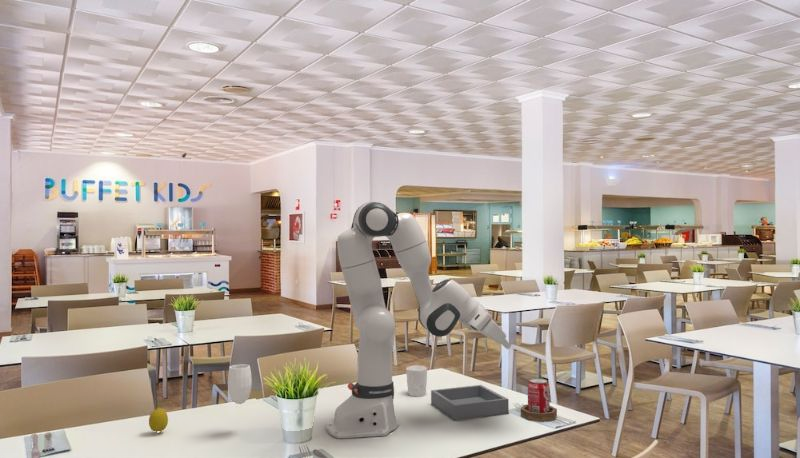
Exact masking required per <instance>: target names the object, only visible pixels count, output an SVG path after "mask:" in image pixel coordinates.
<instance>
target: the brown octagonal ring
mask: <svg viewBox="0 0 800 458" xmlns="http://www.w3.org/2000/svg"><path fill="white" fill-rule="evenodd" d="M557 413H558V409H557V408H555V407H554V406H552V405H550V410H549V412H547V413H535V412H529V411H528V404H524V405H523V406H521V408H520V417H521V418H523V419H525V420H527V421H533V422H538V423H545V422H544V421H546V422H552V421H551V420H553V421H555V420H556V418H557V417H558V414H557ZM556 416H557V417H556ZM554 419H555V420H554Z"/></svg>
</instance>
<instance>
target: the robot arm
mask: <svg viewBox="0 0 800 458" xmlns="http://www.w3.org/2000/svg"><path fill="white" fill-rule="evenodd" d="M377 237H379V238H380V237H385V238H387V239H388V241H389V243H390V244H391V246H392V250H393V252H394V255H395V257H396V259H397V261H398V263H399V265H400V267H401V269H402V270H403V272H404V273H405V274H406V276H407V278H408V279H409V281H410V283H411V286H412V289H413V292H414V294H415V297H416V300H417V303H418V313H417V314H418V317H417V318H418V322H419V323H420V325H421V327H423V328H424V329H426V330H427V331H428V332H429V333H430V334H431V335H433V336H435V337H440V338H441V337H445V336H448V335H449V334H450V333H451V332H452V331H453V330H454V328H455V326H456V325H457V323H458V322H460V323H461V324H462V325H463V326H464V327H465V328H466V329H468V330H469V331H475V332H479V333H480V334H482V335H484V336H485V337H486V338H489V339H490V340H492V341H494V342H495V343H496V344H499V345H502V346H503V347H504V348H505V349H506V350H509V349H510V348H511V347H512V344H511V343H510V342H508V340H507V339H506V338H507V334H506V333H505V331H503V329H502V328H501V327H500V326H499V325H498V323H496V321H495V320H494V319H492V318H493V316H492V315H491V314H490V313H489V311H488V309H487V308H486V307H485V306H483V305H482V304H481V303H480V302H479V301H478V300H477V299H476V298H474V297H472V296H471V295H470V293H469V292H468V291H467V290H466V289H465V288H464V287H463V286H462V285H461V284H460V283H458V282H457V281H455V280H454V279H451V278H450V279H449V278H447V279H444V280H441V281H440V282H438V283H437V284H436V285H435V286H434V287H433V285H432V282H431V279H430V273H429V270H430V266H431V263H432V256H431V251H430V246H429V243H428V240H427V239H426V236H425V234H424V231H423V229H422V228H421V226H420V224H419V222H418V220H417V218H416V217H415V216H414V215H413V214H412V213H410V212H400V213H395V212H394V211H393V210H392V209H391V208H389V206H387V205H386V204H384V203H381V202H377V201H368V202H365V203H364V204H363V203H362V204H361V205H360V206H359V207H357V209H356V211H355V213H354V214H353V219H352V224H351V227H350V229H346V230H344V231H343V232H342V233H341V234H339V236H338V237H337V239H336V240H337V241H336V242H337V243H336V245H337V246H336V247H337V254H338V259H339V264H340V269H341V272H342V275H343V279H344V283H345V287H346V289H347V293H348V299H349V303H350V308H351V312H352V315H353V316H352V317H353V320H354V323H355V327H356V328H357V330H358V333H359V337H358V338H359V339H358V340H359V343H358V353H357V357H356V358H357V359H356V360H357V382H356V383H353V382H349V383H348V384H347V388H348V389H349V390H350V391H351V395H350V396H349V397H347V399H345V400H344V401H343V402H342V403H341V404H339V405H338V406H337V407H336V408H335V411H334V417H333V421H330V422H328V423H327V425H326V431H327V432H328V434H329V435H330V436H331V437H334V438H337V439H351V438H352V439H354V438H369V437H385V436H387V435H389V434H390V433H391V432H392V431H394V430H396V429H397V428H398V426H399V425H398V421H397V417H396V413H395V412H396V411H395V407H394V397H395V386H394V381H393V351H394V346H395V345H394V344H395V331H396V321H395V318H394V315H393V314H392V313H391V312H390V311H389V309H388V308H387V306H386V304H385V299H384V293H383V286H382V279H381V276H380V272H379V269H378V266H377V262H376V259H375V258H376V257H375V255H374V251H373V245H372V243H373V239H374V238H377Z"/></svg>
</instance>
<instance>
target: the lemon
mask: <svg viewBox="0 0 800 458" xmlns="http://www.w3.org/2000/svg"><path fill="white" fill-rule="evenodd" d="M168 423H169V418H168V413H167V412H166V410H164V409H162V408H160V407H157V408H156V409H154V410H153V411H152V412H151V413H150V415H149V418H148V426H149V428H150V429H151V431H152V432H154V431H161V432H163V431H164V430H165V429H166V428H167V426H168ZM162 430H163V431H162Z"/></svg>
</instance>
